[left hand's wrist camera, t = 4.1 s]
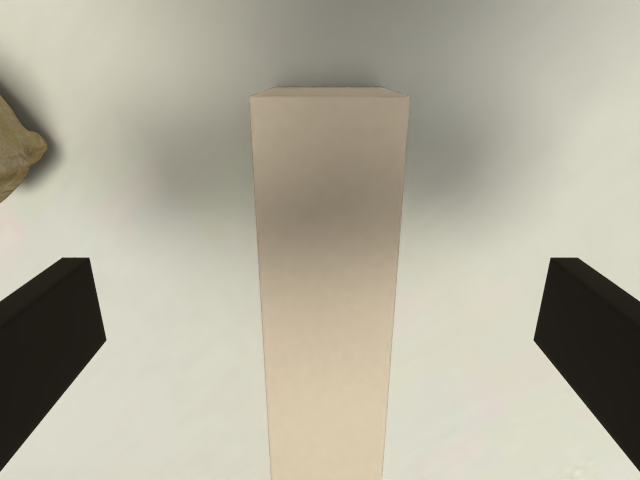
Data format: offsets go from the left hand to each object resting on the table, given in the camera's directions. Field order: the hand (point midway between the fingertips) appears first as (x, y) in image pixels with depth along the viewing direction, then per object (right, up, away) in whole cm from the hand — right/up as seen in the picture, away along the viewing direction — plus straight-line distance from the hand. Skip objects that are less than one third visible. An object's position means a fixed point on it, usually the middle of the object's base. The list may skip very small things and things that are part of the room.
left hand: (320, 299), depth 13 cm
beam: (0, -16, +19) cm, 25 cm away
